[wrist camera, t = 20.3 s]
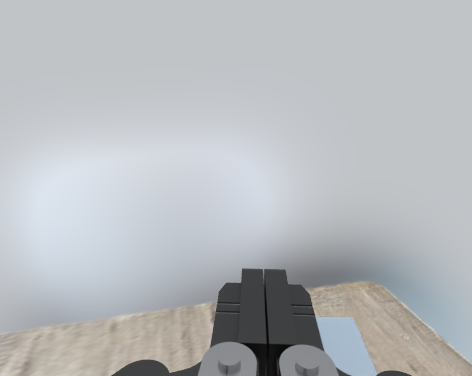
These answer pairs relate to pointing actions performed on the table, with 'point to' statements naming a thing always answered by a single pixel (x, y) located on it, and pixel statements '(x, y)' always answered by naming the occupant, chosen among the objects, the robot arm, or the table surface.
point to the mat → (345, 345)
